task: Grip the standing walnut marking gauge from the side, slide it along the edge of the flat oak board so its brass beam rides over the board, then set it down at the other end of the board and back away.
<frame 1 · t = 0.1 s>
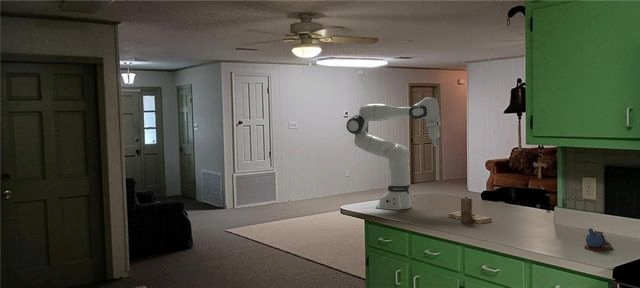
hand: (436, 145, 325), 39 cm above the worktop, fingers open, 8 cm apart
model: (598, 248, 226), on the worktop
board: (469, 219, 293), on the worktop
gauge: (466, 222, 285), on the worktop
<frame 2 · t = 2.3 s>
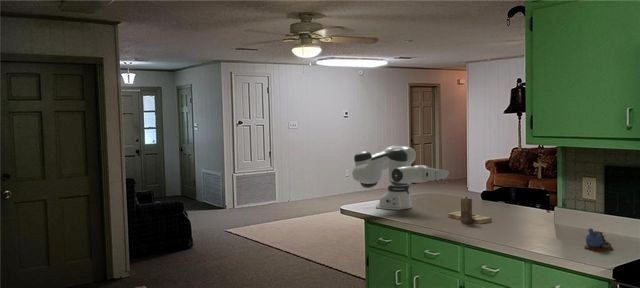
hand: (442, 172, 277), 28 cm above the worktop, fingers open, 8 cm apart
nothing on the worktop moved.
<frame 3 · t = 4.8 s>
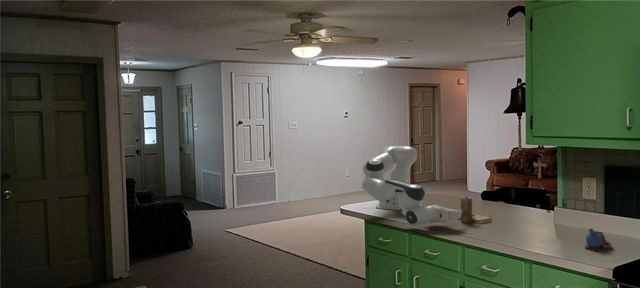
hand: (454, 210, 280), 8 cm above the worktop, fingers open, 8 cm apart
nothing on the worktop moved.
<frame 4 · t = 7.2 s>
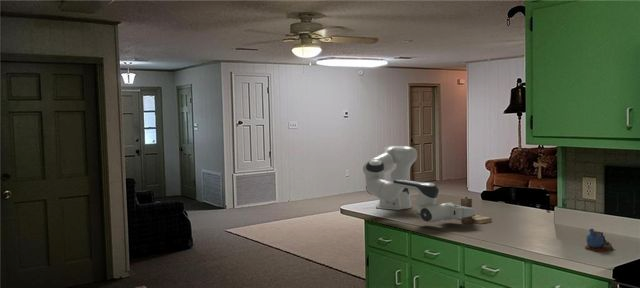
hand: (467, 207, 285), 8 cm above the worktop, fingers closed on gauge, 4 cm apart
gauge: (466, 222, 285), on the worktop, touching gripper
everything else where it was.
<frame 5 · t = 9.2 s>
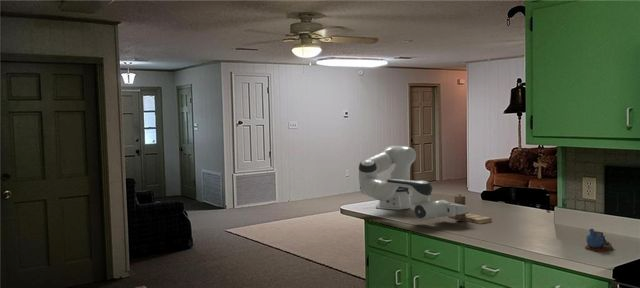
hand: (461, 205, 289), 9 cm above the worktop, fingers closed on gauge, 4 cm apart
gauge: (460, 219, 289), point 1 cm above the worktop, touching gripper
everything else where it was.
when the fingers open (8 cm above the worktop, at t = 11.3 s): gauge stays where it is, on the worktop.
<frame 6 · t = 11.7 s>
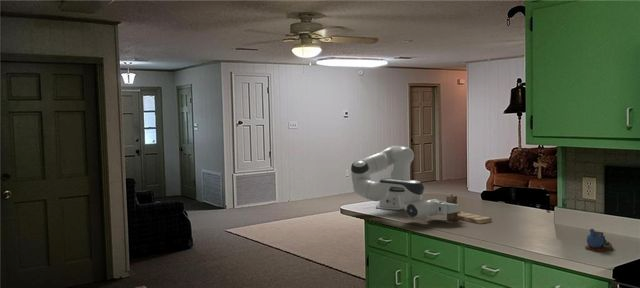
hand: (453, 204, 294), 8 cm above the worktop, fingers open, 8 cm apart
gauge: (452, 219, 294), on the worktop
everything else where it was.
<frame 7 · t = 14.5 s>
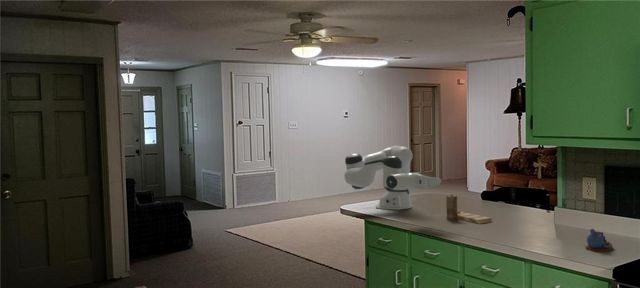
hand: (434, 180, 287), 23 cm above the worktop, fingers open, 8 cm apart
nothing on the worktop moved.
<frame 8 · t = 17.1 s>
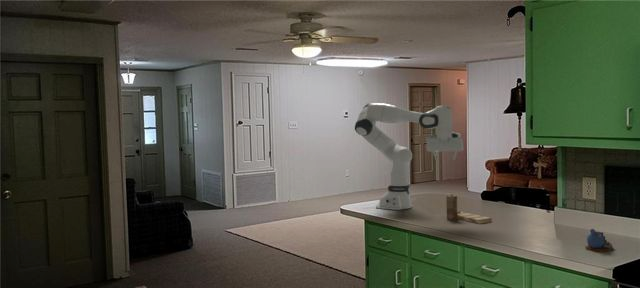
hand: (445, 159, 296), 33 cm above the worktop, fingers open, 8 cm apart
nothing on the worktop moved.
at the end: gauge inside the target area (0.2 cm from its centre), on the worktop; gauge tilted 0°; the gripper is holding nothing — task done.
